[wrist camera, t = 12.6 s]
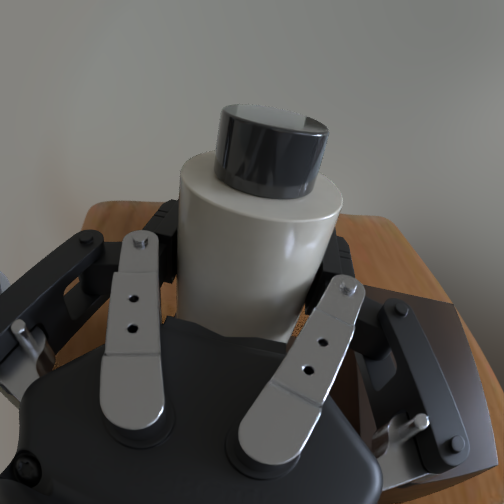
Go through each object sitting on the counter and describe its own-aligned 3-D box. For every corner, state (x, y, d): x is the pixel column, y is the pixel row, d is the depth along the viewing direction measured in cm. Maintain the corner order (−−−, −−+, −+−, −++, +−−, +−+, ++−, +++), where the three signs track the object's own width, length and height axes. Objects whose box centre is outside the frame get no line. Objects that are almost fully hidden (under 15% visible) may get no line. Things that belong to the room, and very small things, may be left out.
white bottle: (164, 384, 13) (154, 118, 6) (193, 309, 17) (213, 93, 10) (269, 408, 13) (382, 167, 6) (279, 330, 17) (348, 122, 10)
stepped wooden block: (126, 472, 15) (82, 434, 9) (177, 330, 26) (177, 242, 20) (408, 501, 15) (498, 464, 9) (397, 370, 26) (453, 303, 20)
